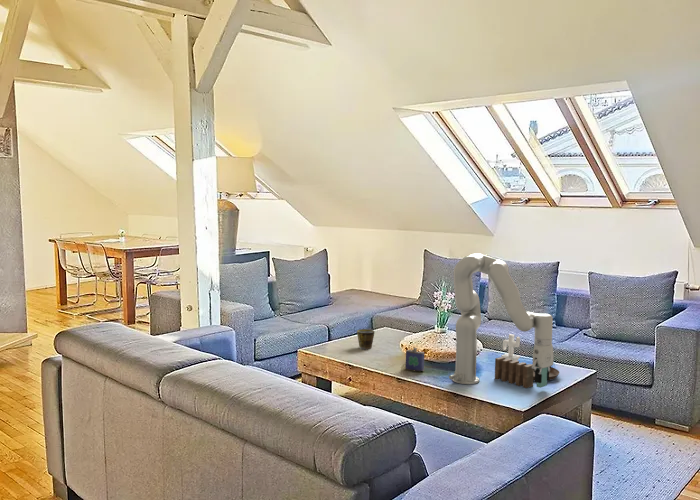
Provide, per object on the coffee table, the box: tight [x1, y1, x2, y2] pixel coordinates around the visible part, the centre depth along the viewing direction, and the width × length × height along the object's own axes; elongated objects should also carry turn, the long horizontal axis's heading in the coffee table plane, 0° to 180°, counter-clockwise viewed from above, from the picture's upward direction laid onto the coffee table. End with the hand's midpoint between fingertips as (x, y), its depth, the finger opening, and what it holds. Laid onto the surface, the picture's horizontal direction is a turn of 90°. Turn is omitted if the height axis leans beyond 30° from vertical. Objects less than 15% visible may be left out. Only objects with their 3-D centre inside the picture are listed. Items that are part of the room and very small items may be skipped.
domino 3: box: [507, 360, 520, 385], centre depth 296 cm, size 2×5×10 cm, turn 129°
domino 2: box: [500, 359, 512, 383], centre depth 299 cm, size 2×5×10 cm, turn 129°
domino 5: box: [522, 363, 534, 389], centre depth 290 cm, size 2×5×10 cm, turn 129°
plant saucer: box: [526, 363, 560, 382], centre depth 308 cm, size 21×21×3 cm
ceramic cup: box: [356, 328, 375, 351], centre depth 357 cm, size 13×10×10 cm
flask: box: [404, 347, 425, 372], centre depth 314 cm, size 10×3×12 cm, turn 60°
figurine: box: [500, 333, 521, 361], centre depth 331 cm, size 7×9×15 cm
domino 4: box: [515, 361, 527, 387], centre depth 293 cm, size 2×5×10 cm, turn 129°
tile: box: [536, 365, 548, 389], centre depth 284 cm, size 2×5×10 cm, turn 129°
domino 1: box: [494, 356, 505, 381], centre depth 302 cm, size 2×5×10 cm, turn 129°
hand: (541, 380), depth 285 cm, fingers closed on tile, 4 cm apart
